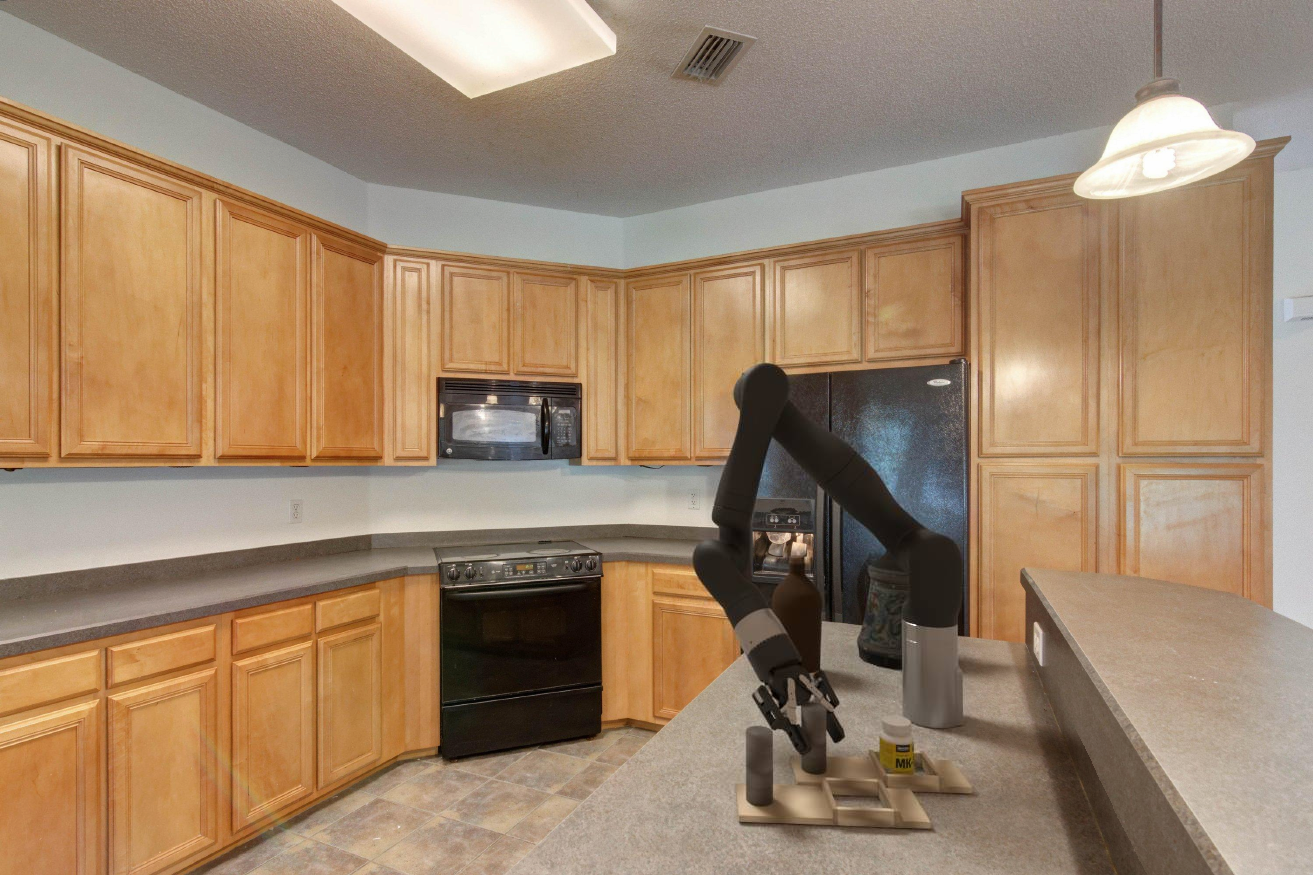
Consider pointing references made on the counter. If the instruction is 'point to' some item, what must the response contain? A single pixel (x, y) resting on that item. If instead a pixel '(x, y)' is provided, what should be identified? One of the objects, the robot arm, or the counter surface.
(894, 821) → the empty strip
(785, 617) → the olive oil
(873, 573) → the beer stein
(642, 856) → the counter surface
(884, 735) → the supplement bottle
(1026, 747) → the counter surface
